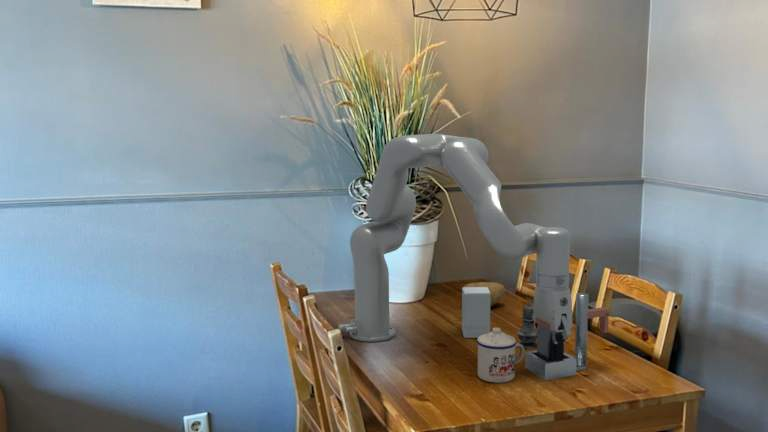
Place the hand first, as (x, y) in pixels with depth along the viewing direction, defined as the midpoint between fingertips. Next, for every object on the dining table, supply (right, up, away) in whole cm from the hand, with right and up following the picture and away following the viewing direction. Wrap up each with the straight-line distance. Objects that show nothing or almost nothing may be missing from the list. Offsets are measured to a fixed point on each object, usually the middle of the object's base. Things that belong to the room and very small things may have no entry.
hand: (550, 354), depth 169 cm
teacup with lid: (-12, -5, -1) cm, 13 cm away
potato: (-8, +4, +56) cm, 56 cm away
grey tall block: (0, -4, +1) cm, 4 cm away
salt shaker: (-2, -2, +19) cm, 19 cm away
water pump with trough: (+5, -4, +3) cm, 7 cm away
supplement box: (-14, 0, +29) cm, 32 cm away
